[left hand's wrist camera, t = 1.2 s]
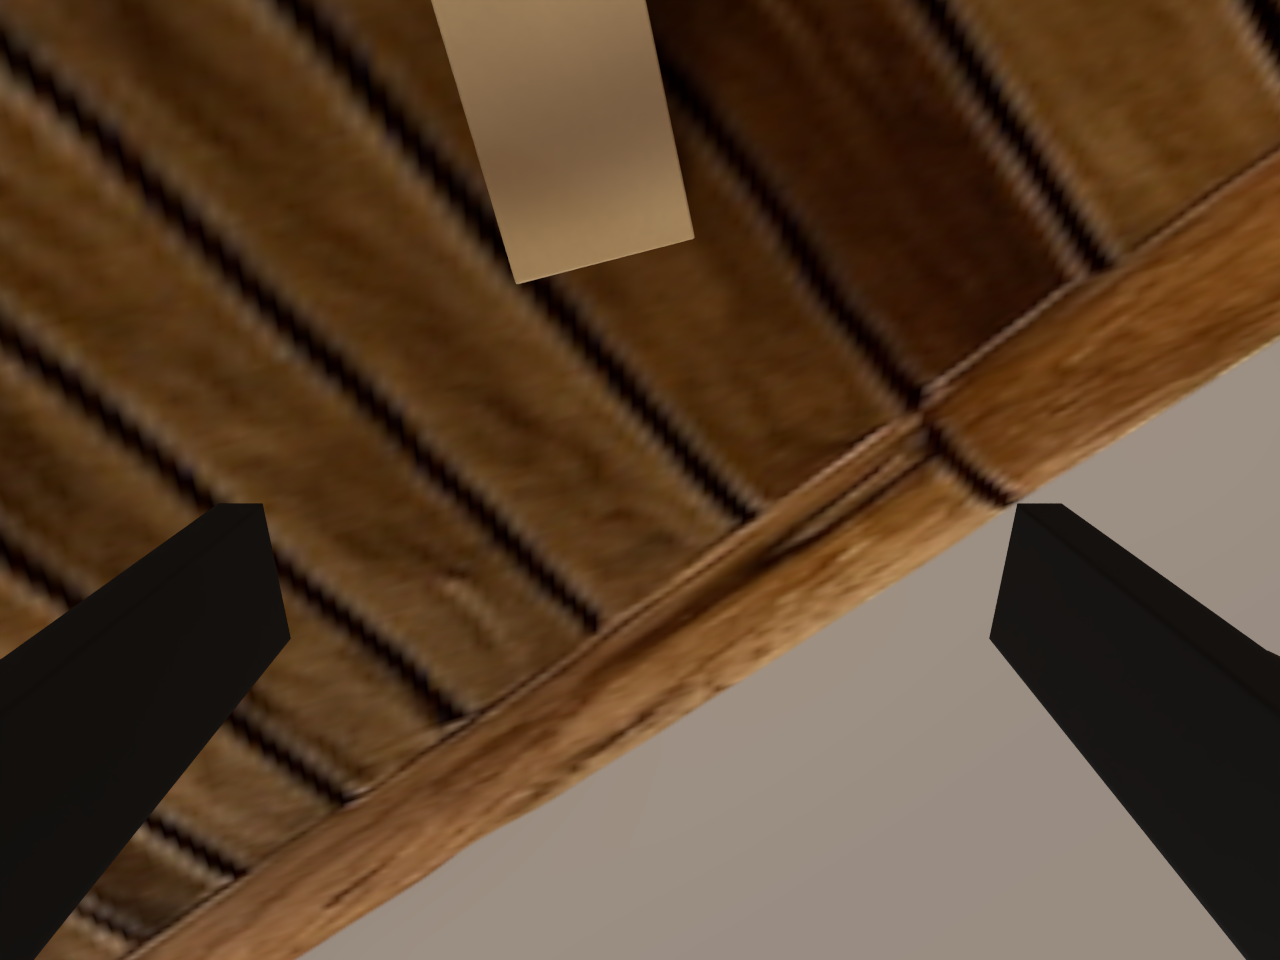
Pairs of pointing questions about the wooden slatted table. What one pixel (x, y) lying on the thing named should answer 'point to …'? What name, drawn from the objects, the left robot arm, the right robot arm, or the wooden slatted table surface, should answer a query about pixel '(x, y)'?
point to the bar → (568, 128)
